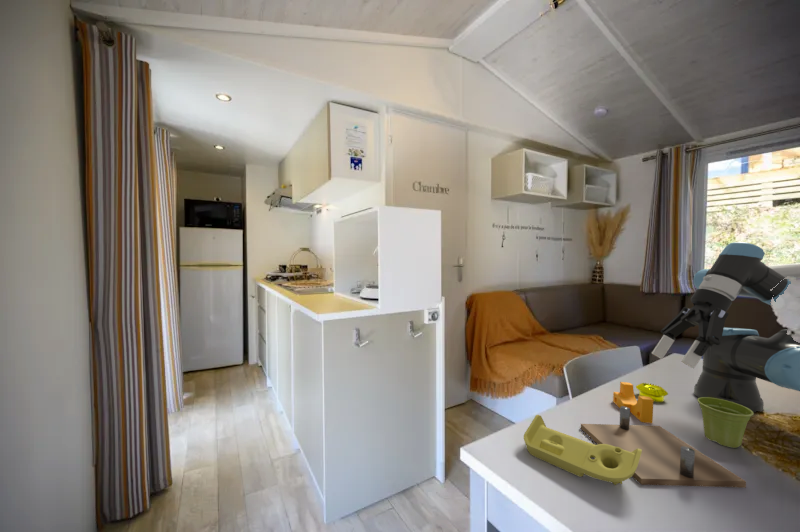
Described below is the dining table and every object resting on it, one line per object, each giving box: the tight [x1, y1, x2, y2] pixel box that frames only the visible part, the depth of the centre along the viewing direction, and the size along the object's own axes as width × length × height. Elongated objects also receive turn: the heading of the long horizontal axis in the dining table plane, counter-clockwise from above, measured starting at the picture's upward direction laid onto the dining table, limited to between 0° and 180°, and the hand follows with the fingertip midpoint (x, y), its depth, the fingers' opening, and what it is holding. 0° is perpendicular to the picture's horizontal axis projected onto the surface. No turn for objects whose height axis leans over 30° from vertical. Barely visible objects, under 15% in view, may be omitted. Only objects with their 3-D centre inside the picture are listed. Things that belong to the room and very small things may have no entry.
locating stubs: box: [619, 406, 695, 478], centre depth 70 cm, size 2×19×5 cm, turn 0°
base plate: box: [580, 423, 747, 488], centre depth 70 cm, size 20×20×1 cm
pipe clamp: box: [612, 381, 655, 424], centre depth 90 cm, size 12×4×6 cm, turn 169°
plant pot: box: [696, 397, 755, 449], centre depth 76 cm, size 9×9×9 cm
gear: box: [635, 382, 669, 403], centre depth 100 cm, size 8×4×8 cm
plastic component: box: [523, 414, 642, 486], centre depth 65 cm, size 20×8×10 cm
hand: (670, 360), depth 86 cm, fingers open, 13 cm apart
